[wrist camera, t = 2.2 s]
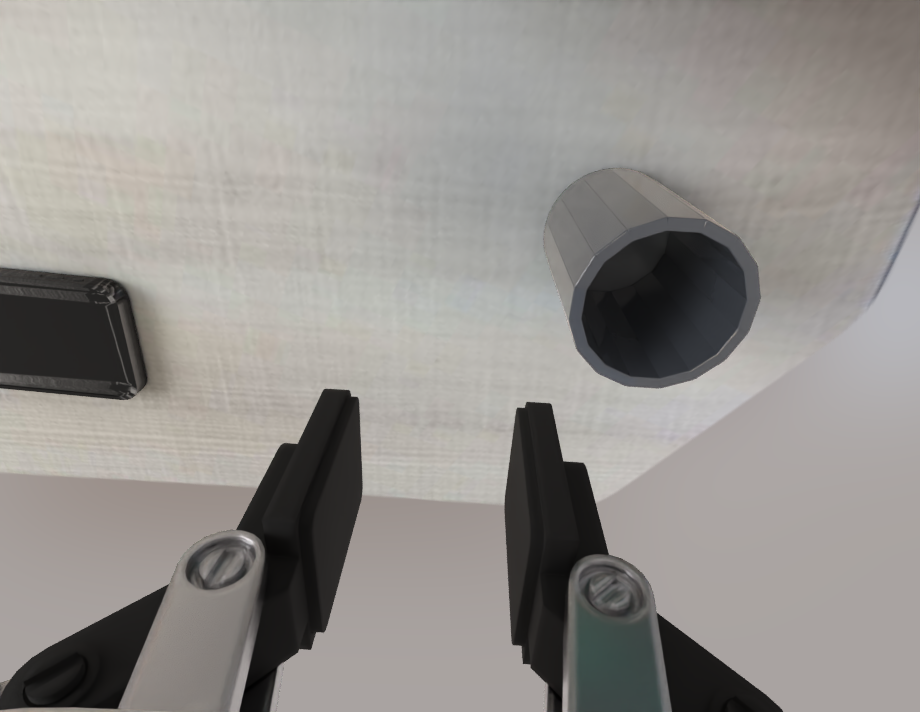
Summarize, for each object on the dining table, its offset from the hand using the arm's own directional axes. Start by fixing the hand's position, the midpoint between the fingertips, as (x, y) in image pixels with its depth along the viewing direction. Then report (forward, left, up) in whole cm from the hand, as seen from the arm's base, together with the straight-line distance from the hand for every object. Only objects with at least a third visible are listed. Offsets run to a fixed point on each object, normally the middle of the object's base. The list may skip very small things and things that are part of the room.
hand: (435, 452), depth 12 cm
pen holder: (+8, 0, -19) cm, 21 cm away
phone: (-27, -8, -19) cm, 34 cm away
